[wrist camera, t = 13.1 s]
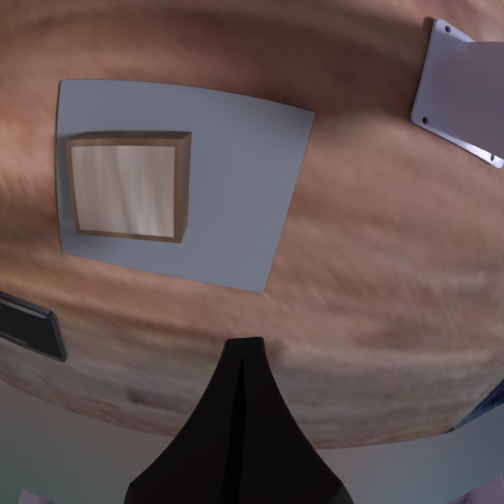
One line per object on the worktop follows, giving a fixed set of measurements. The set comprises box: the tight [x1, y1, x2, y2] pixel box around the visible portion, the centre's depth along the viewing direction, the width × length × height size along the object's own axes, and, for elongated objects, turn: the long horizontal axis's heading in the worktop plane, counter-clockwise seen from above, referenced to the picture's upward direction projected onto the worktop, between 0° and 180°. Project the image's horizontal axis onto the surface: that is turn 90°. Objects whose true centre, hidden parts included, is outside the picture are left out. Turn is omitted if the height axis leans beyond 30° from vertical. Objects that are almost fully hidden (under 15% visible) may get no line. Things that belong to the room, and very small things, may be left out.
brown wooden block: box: [66, 130, 192, 243], centre depth 17 cm, size 3×6×7 cm
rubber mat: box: [56, 79, 315, 293], centre depth 18 cm, size 16×13×1 cm
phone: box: [0, 291, 68, 362], centre depth 26 cm, size 8×1×15 cm
